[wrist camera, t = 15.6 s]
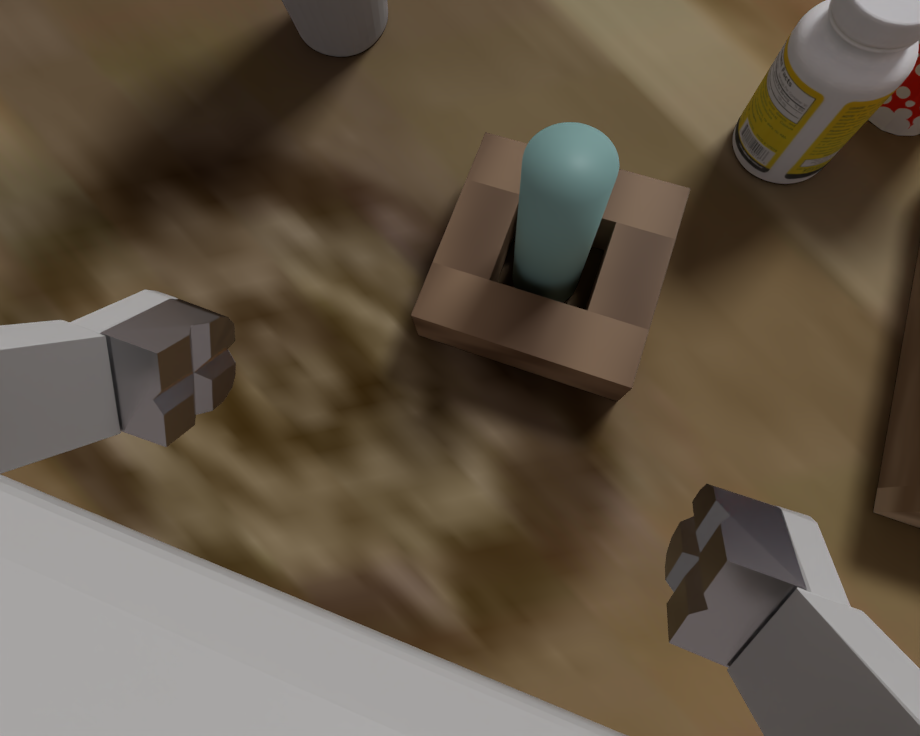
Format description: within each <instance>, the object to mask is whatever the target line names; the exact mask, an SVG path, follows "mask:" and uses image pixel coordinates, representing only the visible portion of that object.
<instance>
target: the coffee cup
mask: <svg viewBox="0 0 920 736" xmlns="http://www.w3.org/2000/svg"><path fill="white" fill-rule="evenodd" d="M282 2H283V4H284V6H285V8H286V9H287V11H288V13H289V15H290V17H291V19H292V21H293V23H294V25H295V26H296V28H297V30H298V32H299V34H300V36H301V38H302V39H303V40H304V41H305V43H306V44H307V45H308V46H310V47H311V48H312V49H314V50H316V51H318V52H320V53H323V54H326V55H329V56H336V57H347V56H352V55H356V54H358V53H361V52H363V51H365V50H366V49H368V48H369V47H371V46H372V45H373V44H374V43H375V42H376V41H377V40H378V38H379V37H380V36H381V35H382V33H383V31H384V29H385V27H386V23H387V20H388V5H387V0H282Z"/></svg>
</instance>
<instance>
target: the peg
mask: <svg viewBox="0 0 920 736" xmlns="http://www.w3.org/2000/svg"><path fill="white" fill-rule="evenodd" d="M618 172H619V158H618V154H617V151H616V148H615V147H614V145H613V143H612V142H611V141H610V139H609V138H608V137H607V136H606V135H604V134H603V133H602V132H601V131H599V130H597V129H596V128H593V127H591V126H589V125H585V124H581V123H574V122H566V123H559V124H555V125H552V126H549V127H547V128H545V129H543V130H541V131H540V132H538V133H537V134H536V135H535V136H534V137H533V138H532V139H531V140H530V141H529V143H528V144H527V146H526V148H525V150H524V154H523V158H522V168H521V180H520V192H519V203H518V215H517V227H516V239H515V250H514V262H513V274H512V279H513V284H514V287H515V288H517V289H520V290H523V291H526V292H530V293H533V294H536V295H539V296H542V297H546V298H549V299H552V300H555V301H558V302H562V303H563V302H564V301H566V300H567V299H568V298H569V297H570V296H571V295H572V294H573V293H574V291H575V289H576V287H577V284H578V281H579V279H580V276H581V273H582V271H583V268H584V265H585V262H586V260H587V257H588V254H589V252H590V249H591V246H592V244H593V241H594V238H595V235H596V233H597V230H598V227H599V225H600V222H601V219H602V216H603V214H604V211H605V208H606V206H607V203H608V200H609V197H610V195H611V192H612V189H613V187H614V184H615V181H616V178H617V176H618Z"/></svg>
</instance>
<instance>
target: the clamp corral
mask: <svg viewBox="0 0 920 736" xmlns="http://www.w3.org/2000/svg"><path fill="white" fill-rule="evenodd" d="M873 512H874V513H877V514H880V515H882V516H885V517H888V518H891V519H894V520H897V521H900V522H903V523H906V524H909V525H912V526H915V527H918V528H920V245H919V251H918V256H917V262H916V268H915V274H914V279H913V285H912V291H911V297H910V303H909V308H908V314H907V320H906V326H905V331H904V337H903V343H902V349H901V355H900V360H899V366H898V372H897V378H896V383H895V389H894V395H893V401H892V407H891V412H890V418H889V424H888V430H887V435H886V441H885V447H884V453H883V458H882V464H881V470H880V476H879V482H878V487H877V493H876V499H875V505H874V510H873Z"/></svg>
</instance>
